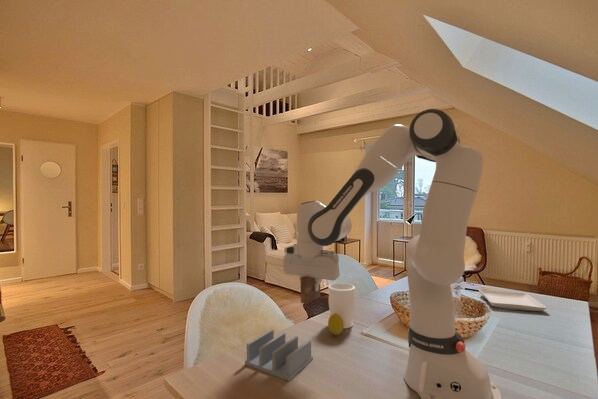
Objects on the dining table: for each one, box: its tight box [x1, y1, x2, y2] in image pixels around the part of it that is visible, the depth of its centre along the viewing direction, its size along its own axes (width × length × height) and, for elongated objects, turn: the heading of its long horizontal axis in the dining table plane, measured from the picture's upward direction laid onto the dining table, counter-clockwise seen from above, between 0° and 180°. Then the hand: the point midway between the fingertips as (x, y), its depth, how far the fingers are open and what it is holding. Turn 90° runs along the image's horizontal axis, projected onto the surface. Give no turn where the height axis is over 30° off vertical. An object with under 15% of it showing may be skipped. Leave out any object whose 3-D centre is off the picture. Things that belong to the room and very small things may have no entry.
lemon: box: [327, 313, 344, 336], centre depth 109 cm, size 6×6×8 cm
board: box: [299, 276, 321, 305], centre depth 101 cm, size 2×9×8 cm, turn 148°
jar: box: [328, 282, 357, 330], centre depth 118 cm, size 11×10×15 cm
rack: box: [244, 328, 314, 382], centre depth 91 cm, size 16×13×6 cm
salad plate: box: [478, 289, 547, 312], centre depth 140 cm, size 21×21×3 cm
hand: (310, 290), depth 101 cm, fingers closed on board, 2 cm apart
